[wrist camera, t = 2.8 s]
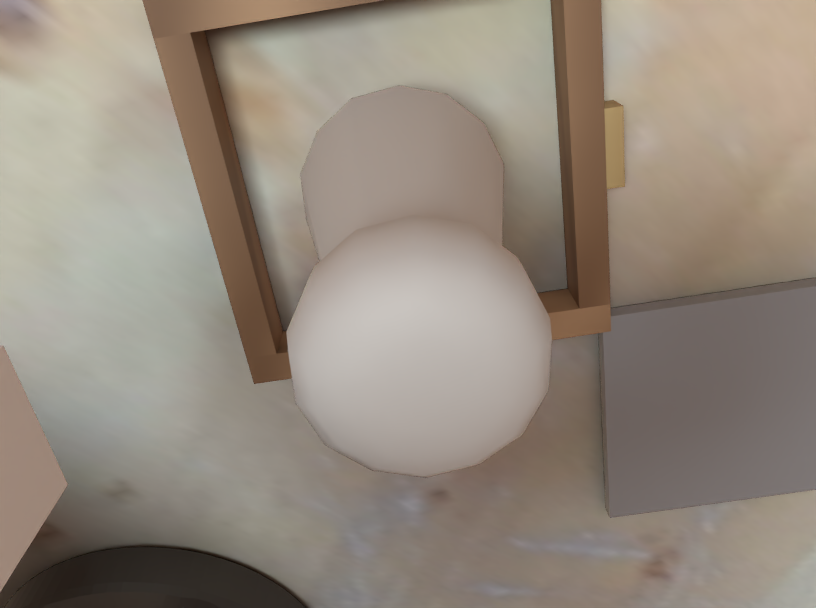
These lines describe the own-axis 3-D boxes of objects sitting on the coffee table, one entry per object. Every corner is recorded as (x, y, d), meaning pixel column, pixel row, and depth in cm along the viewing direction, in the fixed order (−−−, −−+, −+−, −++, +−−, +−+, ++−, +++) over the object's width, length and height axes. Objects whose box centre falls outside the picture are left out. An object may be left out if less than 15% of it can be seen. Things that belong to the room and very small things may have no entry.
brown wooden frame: (261, 360, 25) (254, 383, 23) (159, -4, 20) (142, -2, 18) (615, 307, 24) (629, 328, 23) (604, -80, 19) (622, -84, 18)
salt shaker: (341, 273, 24) (296, 571, 12) (283, 105, 21) (156, 270, 9) (510, 228, 23) (640, 493, 11) (471, 51, 21) (584, 154, 9)
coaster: (605, 507, 28) (609, 517, 28) (597, 309, 24) (602, 317, 24) (830, 476, 28) (839, 486, 27) (858, 271, 24) (869, 278, 24)
